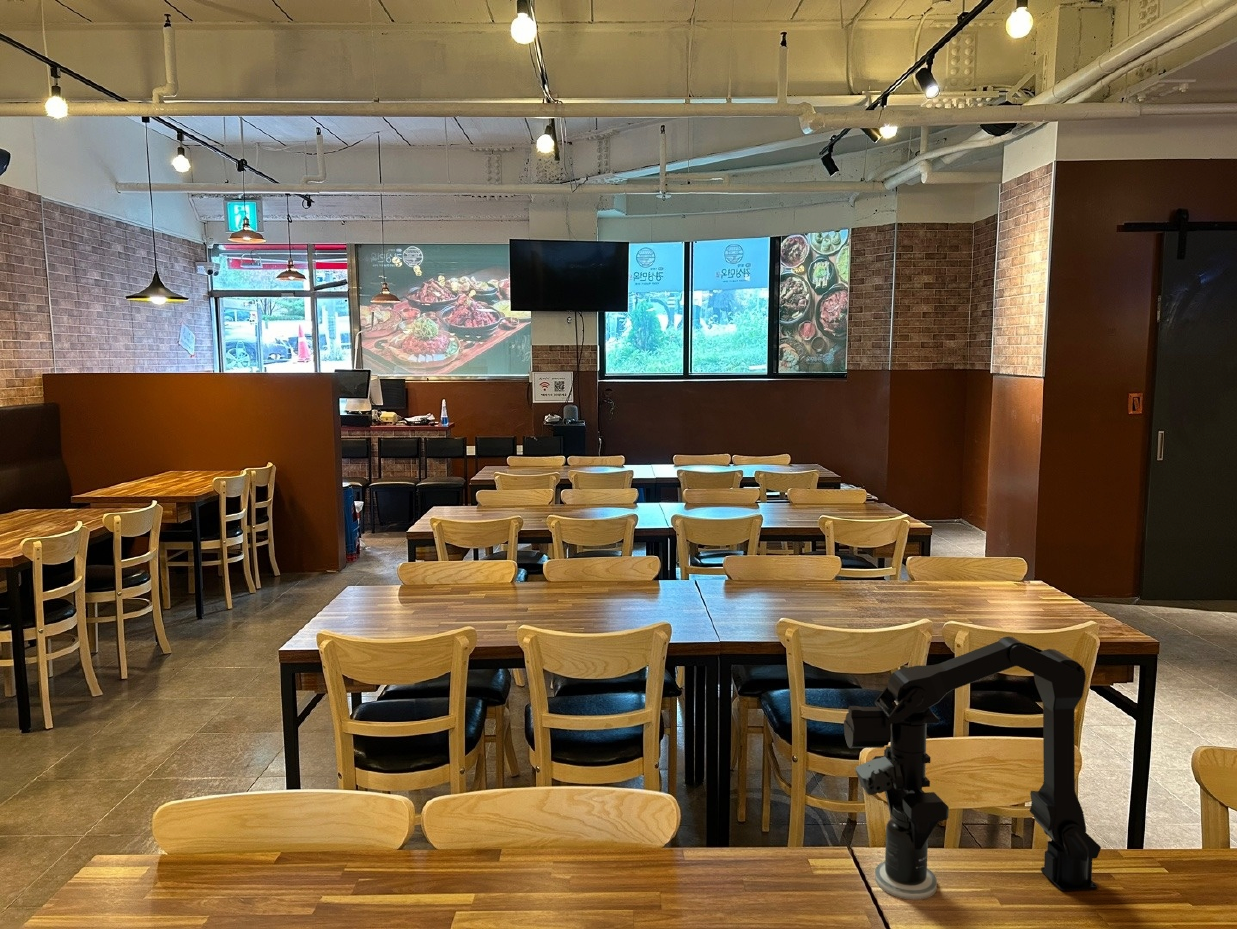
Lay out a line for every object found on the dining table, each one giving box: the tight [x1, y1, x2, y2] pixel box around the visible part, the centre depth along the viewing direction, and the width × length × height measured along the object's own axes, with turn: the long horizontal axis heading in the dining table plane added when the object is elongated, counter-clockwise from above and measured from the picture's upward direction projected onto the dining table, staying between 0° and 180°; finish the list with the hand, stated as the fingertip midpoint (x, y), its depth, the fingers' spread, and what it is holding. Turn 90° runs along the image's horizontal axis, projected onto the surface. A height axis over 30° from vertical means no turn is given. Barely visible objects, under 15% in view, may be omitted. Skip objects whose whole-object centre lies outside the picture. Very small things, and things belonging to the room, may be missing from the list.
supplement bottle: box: [884, 802, 929, 885], centre depth 146 cm, size 7×7×12 cm
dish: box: [874, 860, 938, 901], centre depth 147 cm, size 10×10×1 cm
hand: (906, 834), depth 146 cm, fingers open, 9 cm apart
